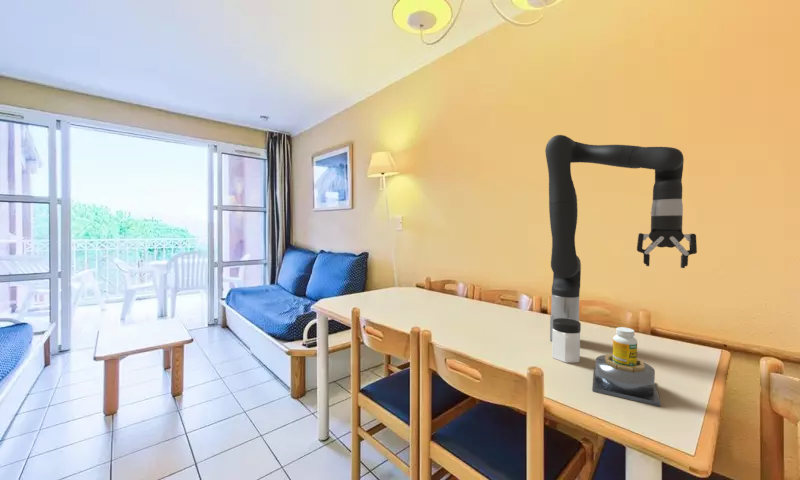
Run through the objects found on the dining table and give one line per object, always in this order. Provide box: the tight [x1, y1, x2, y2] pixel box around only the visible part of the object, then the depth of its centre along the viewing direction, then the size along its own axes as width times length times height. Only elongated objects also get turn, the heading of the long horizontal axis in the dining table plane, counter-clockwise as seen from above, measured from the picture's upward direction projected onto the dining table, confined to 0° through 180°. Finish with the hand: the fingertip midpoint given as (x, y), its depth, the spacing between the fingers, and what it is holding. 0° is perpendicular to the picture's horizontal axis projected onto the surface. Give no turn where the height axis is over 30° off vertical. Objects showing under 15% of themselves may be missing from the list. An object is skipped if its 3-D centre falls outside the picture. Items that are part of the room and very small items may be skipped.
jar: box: [551, 318, 582, 364], centre depth 106 cm, size 9×8×12 cm
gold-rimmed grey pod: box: [591, 353, 661, 407], centre depth 87 cm, size 14×14×7 cm
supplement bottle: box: [612, 326, 638, 366], centre depth 87 cm, size 5×5×10 cm
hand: (664, 266), depth 101 cm, fingers open, 8 cm apart
